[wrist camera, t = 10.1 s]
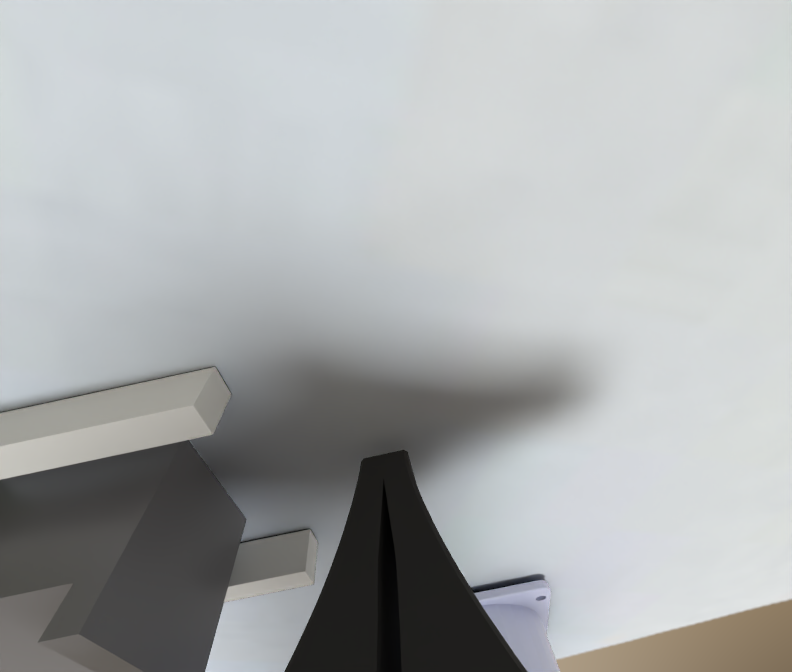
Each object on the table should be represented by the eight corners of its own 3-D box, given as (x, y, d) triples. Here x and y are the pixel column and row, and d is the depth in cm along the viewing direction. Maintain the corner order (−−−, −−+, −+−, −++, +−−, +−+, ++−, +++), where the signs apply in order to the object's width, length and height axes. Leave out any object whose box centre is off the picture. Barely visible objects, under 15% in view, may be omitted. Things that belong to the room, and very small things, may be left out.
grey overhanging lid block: (247, 515, 13) (196, 702, 9) (92, 547, 13) (-31, 747, 9) (187, 432, 11) (78, 633, 7) (-1, 472, 11) (-228, 697, 7)
